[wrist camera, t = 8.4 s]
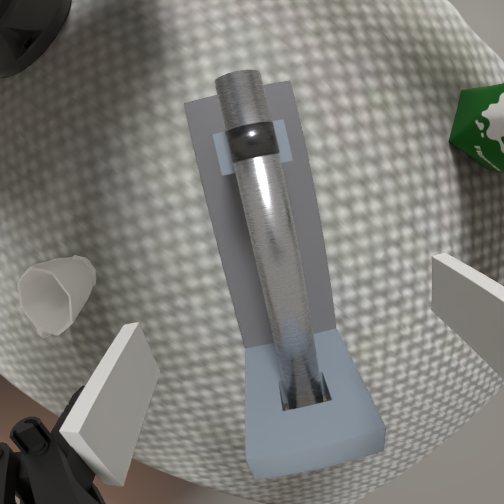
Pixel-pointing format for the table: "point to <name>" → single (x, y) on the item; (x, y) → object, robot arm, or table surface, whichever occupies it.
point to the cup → (55, 292)
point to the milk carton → (481, 125)
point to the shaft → (271, 231)
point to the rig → (256, 316)
